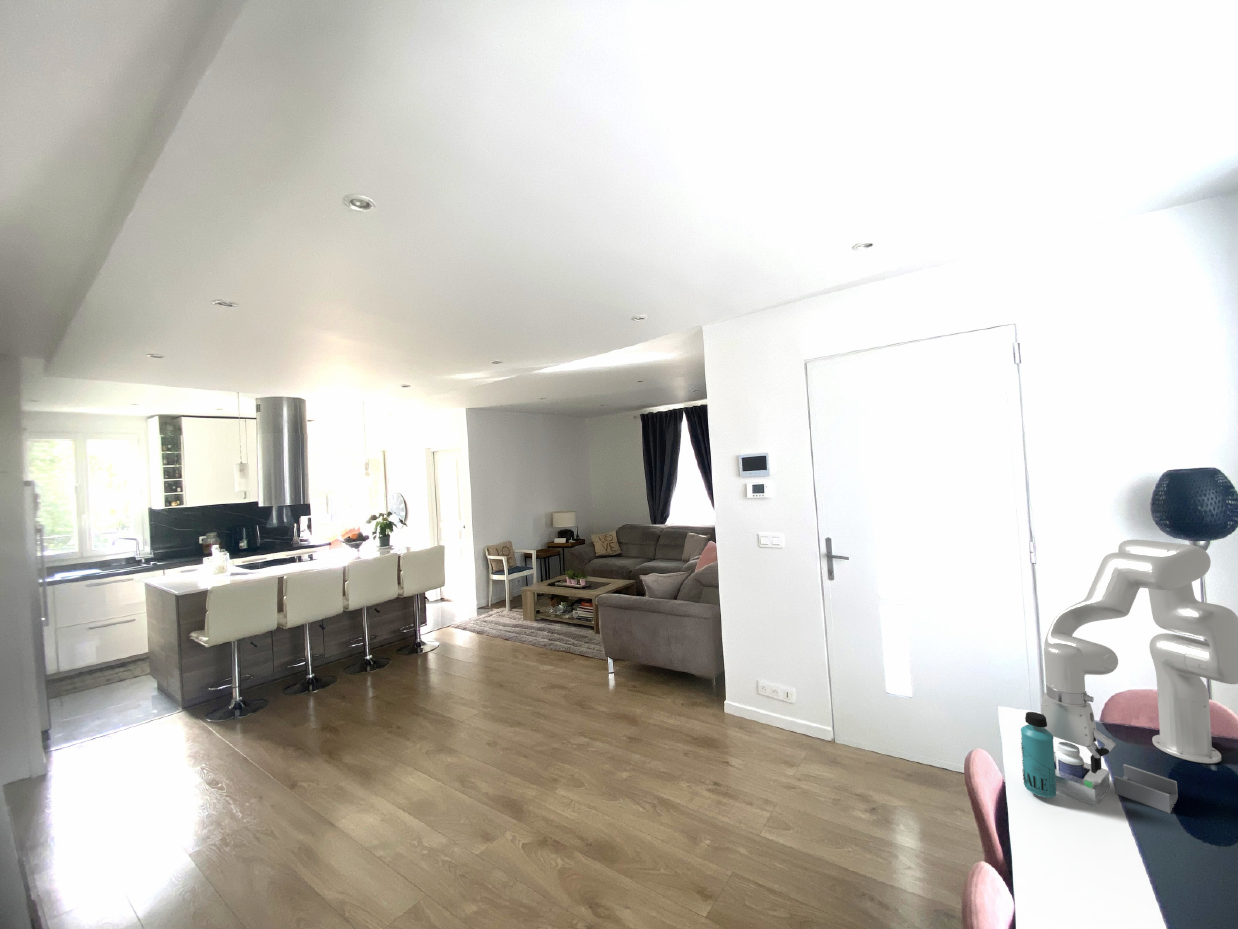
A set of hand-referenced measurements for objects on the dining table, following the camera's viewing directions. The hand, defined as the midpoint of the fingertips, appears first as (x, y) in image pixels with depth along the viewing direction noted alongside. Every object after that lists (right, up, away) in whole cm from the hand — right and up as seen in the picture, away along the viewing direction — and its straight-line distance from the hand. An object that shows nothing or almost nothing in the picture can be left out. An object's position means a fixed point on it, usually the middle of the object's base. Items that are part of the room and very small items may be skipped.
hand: (1069, 762), depth 127 cm
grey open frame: (+14, -5, -6) cm, 15 cm away
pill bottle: (0, -6, 0) cm, 6 cm away
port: (0, -6, 0) cm, 6 cm away
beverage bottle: (-10, -6, -4) cm, 13 cm away
